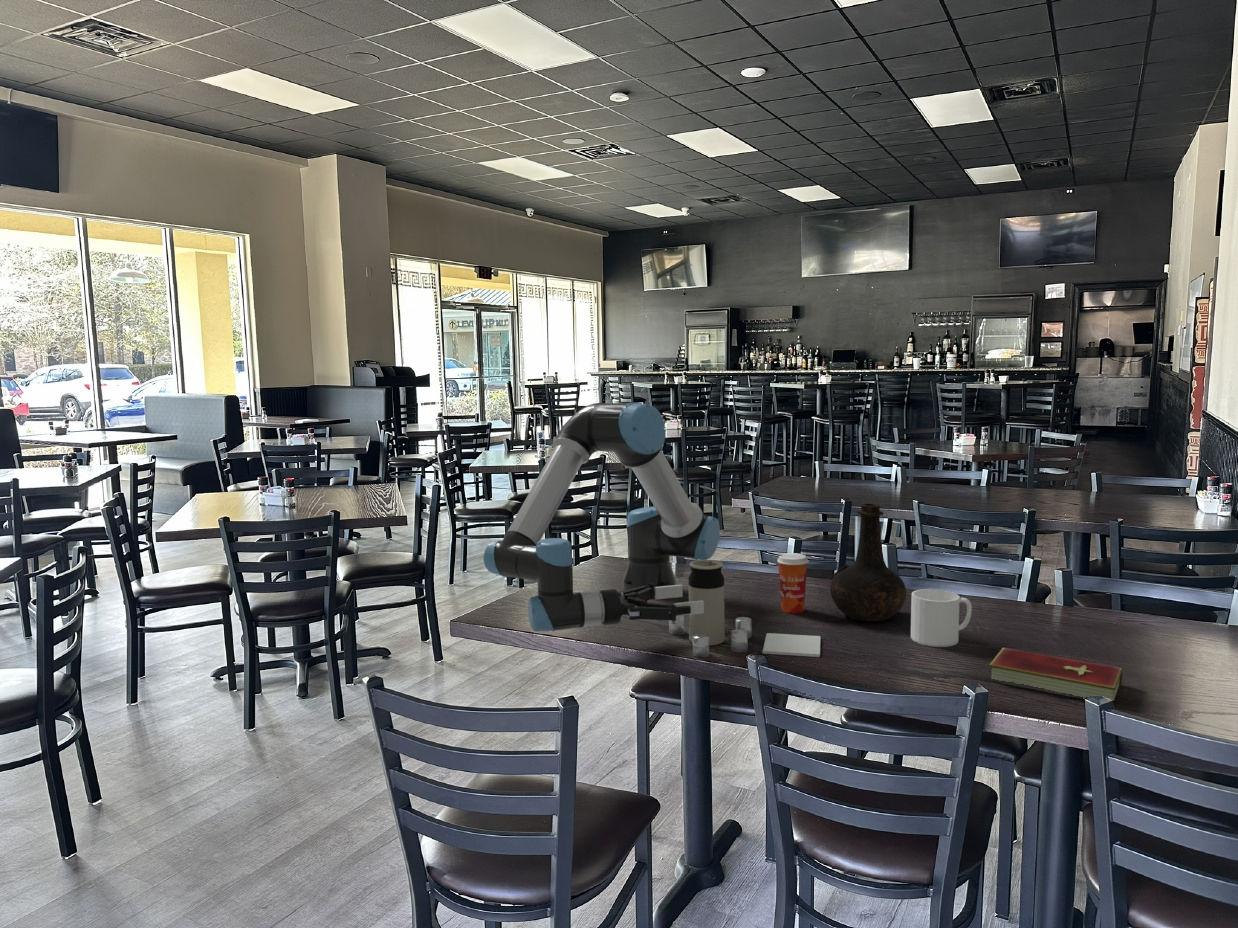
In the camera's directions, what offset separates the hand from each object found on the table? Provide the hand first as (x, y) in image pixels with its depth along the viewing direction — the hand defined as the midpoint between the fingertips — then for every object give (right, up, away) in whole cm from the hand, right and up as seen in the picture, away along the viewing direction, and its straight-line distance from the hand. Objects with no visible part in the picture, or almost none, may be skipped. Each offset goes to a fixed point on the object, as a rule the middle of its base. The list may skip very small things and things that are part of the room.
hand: (692, 598), depth 184 cm
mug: (+55, -9, 0) cm, 56 cm away
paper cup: (+28, -7, +24) cm, 37 cm away
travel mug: (+4, -10, +3) cm, 11 cm away
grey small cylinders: (+4, -10, +3) cm, 11 cm away
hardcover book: (+67, -13, -26) cm, 73 cm away
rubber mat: (+22, -10, -2) cm, 24 cm away
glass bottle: (+45, -8, +18) cm, 49 cm away
